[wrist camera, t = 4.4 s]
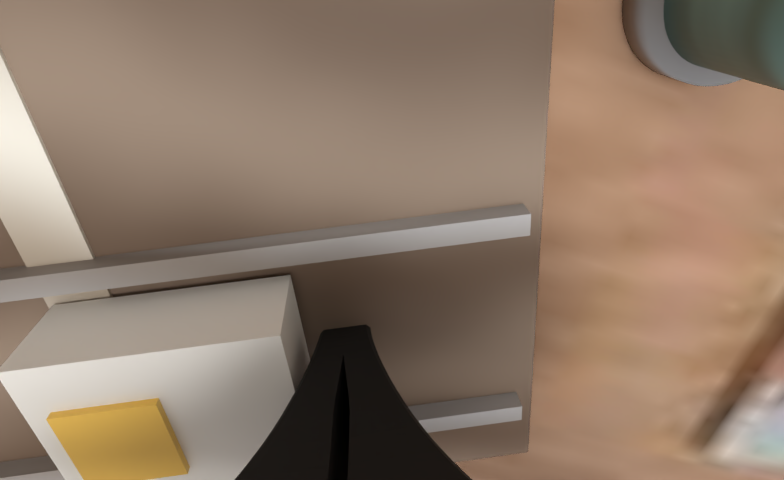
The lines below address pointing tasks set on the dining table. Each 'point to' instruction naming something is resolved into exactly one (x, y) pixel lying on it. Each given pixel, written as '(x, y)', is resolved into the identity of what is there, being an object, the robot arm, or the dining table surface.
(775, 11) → the teal round cylinder
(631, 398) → the dining table surface
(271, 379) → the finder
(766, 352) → the dining table surface
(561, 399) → the dining table surface
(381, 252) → the board
